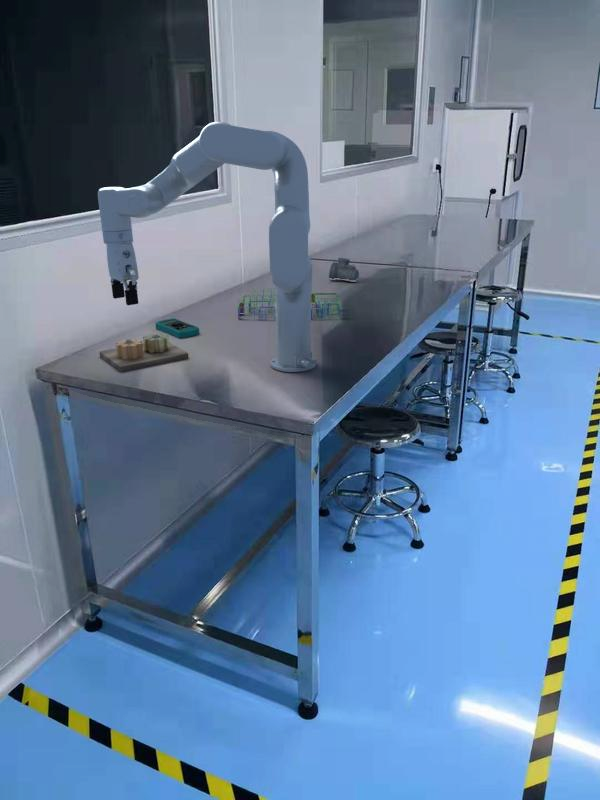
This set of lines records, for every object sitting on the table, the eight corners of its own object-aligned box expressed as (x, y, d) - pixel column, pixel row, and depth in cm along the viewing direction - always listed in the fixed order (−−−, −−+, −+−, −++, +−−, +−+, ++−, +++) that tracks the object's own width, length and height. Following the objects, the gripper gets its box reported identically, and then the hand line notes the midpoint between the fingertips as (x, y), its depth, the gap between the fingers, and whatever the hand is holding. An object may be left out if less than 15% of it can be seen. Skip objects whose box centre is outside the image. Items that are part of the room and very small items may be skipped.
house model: (238, 321, 220) (237, 308, 219) (243, 301, 248) (242, 288, 246) (340, 321, 221) (340, 307, 219) (334, 300, 248) (334, 288, 247)
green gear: (173, 349, 184) (172, 337, 183) (149, 354, 181) (148, 342, 179) (163, 343, 190) (162, 331, 188) (139, 347, 186) (138, 335, 185)
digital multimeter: (180, 340, 201) (179, 331, 199) (155, 329, 211) (154, 320, 210) (201, 335, 205) (200, 326, 204) (175, 325, 216) (174, 316, 215)
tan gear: (147, 355, 180) (146, 343, 179) (122, 360, 176) (121, 348, 175) (137, 349, 186) (136, 337, 184) (113, 354, 182) (111, 341, 180)
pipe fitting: (326, 281, 277) (330, 257, 274) (333, 279, 284) (337, 255, 281) (352, 287, 273) (356, 262, 269) (358, 284, 280) (362, 261, 276)
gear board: (188, 358, 183) (187, 337, 181) (120, 372, 172) (118, 350, 170) (164, 344, 195) (163, 325, 193) (100, 356, 184) (97, 336, 182)
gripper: (144, 239, 164) (151, 305, 171) (119, 232, 177) (127, 293, 184) (115, 242, 160) (124, 309, 167) (92, 234, 173) (101, 297, 180)
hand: (125, 301), depth 175 cm, fingers open, 9 cm apart
